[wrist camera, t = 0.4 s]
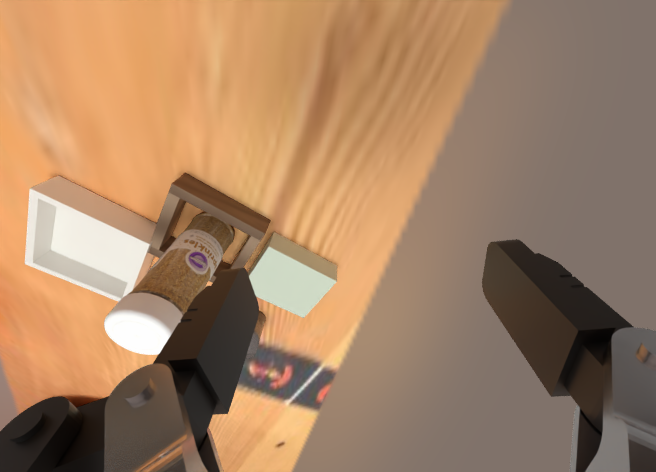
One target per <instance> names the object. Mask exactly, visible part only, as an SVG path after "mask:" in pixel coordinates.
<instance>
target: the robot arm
mask: <svg viewBox="0 0 656 472" xmlns="http://www.w3.org/2000/svg"><path fill="white" fill-rule="evenodd" d="M482 287H483V292H484V295H485V297H486V299H487V300H488V302H489V304H490V305H491V307H492V308H493V310H494V312H495V313H496V315H497V316H498V317H499V319H500V320H501V322H502V323H503V325H504V327H505V328H506V329H507V331H508V333H509V334H510V336H511V337H512V339H513V340H514V342H515V343H516V345H517V346H518V348H519V349H520V350H521V352H522V354H523V355H524V357H525V358H526V360H527V361H528V363H529V364H530V366H531V367H532V369H533V370H534V372H535V373H536V375H537V376H538V378H539V379H540V381H541V382H542V384H543V385H544V387H545V388H546V390H547V391H548V393H549V394H550V395H551V396H572V398H573V399H574V400H575V402H576V403H577V404H578V405H577V407H576V409H575V413H574V424H573V437H572V451H571V462H570V472H656V331H653V330H650V329H644V328H634V327H633V326H632V325H631V324H629V323H628V322H627V321H626V320H625V319H624V318H622V317H621V316H620V315H619V314H618V313H617V312H615V311H614V310H613V309H612V308H610V306H608V305H607V304H606V303H605V302H604V301H603V300H601V299H600V298H599V297H598V296H597V295H596V294H594V293H593V292H592V291H591V290H590V289H588V288H587V287H584V285H583V283H581V282H580V281H579V280H578V279H577V278H576V277H572V274H571V273H570V272H568V271H567V270H566V269H565V268H563V266H562V265H560V264H559V263H558V262H556V261H554V260H552V259H550V258H548V257H546V256H544V255H541V254H539V253H538V254H534V252H532V251H531V250H530V249H529V248H528V247H527V246H526V245H525V244H524V243H523V242H521V241H520V240H517V239H516V240H506V241H497V242H491V243H490V244H489V245H488V248H487V254H486V260H485V267H484V273H483V279H482ZM258 315H259V306H258V301H257V298H256V295H255V293H254V290H253V287H252V284H251V281H250V278H249V276H248V273H247V271H246V269H245V268H236V269H227V270H221V271H220V272H219V274H218V275H217V277H216V279H215V280H214V282H213V284H212V286H207V287H206V288H205V289H203V290H202V291H201V292H200V293H199V294H198V295H197V296H196V297H195V298H194V299H193V301H192V302H191V304H190V306H189V307H188V309H187V312H185V314H184V315H183V317H182V318H181V322H180V323H178V325H177V326H176V328H175V329H174V331H173V333H172V334H171V336H170V337H169V339H168V341H167V342H166V344H165V345H164V347H163V348H162V350H161V352H160V353H159V355H158V356H157V358H156V360H155V361H154V363H153V364H151V365H147V366H144V367H142V368H140V369H138V370H136V371H134V372H133V373H131V374H130V375H128V376H127V377H126V378H125V379H123V380H122V381H121V382H120V383H119V384H118V385H117V386H116V388H115V389H114V390H113V391H112V393H111V394H110V396H108V397H105V398H103V399H100V400H97V401H94V402H91V403H89V404H86V405H83V406H80V407H77V408H76V407H75V406H74V405H73V404H72V403H71V402H70V401H69V400H68V399H66V398H65V397H52V398H49V399H46V400H43V401H41V402H39V403H37V404H35V405H33V406H31V407H30V408H28V409H26V410H25V411H23V412H22V413H21V414H19V415H18V416H17V417H15V418H14V419H13V420H12V421H11V422H10V423H8V424H7V425H6V426H5V427H4V428H3V429H2V430H1V431H0V472H224V471H223V468H222V465H221V462H220V459H219V456H218V453H217V450H216V446H215V443H214V440H213V437H212V434H211V431H210V429H209V428H208V426H209V424H210V421H211V418H212V415H213V414H228V412H229V409H230V405H231V402H232V399H233V396H234V393H235V390H236V387H237V383H238V380H239V377H240V374H241V371H242V368H243V364H244V361H245V358H246V355H247V352H248V349H249V346H250V342H251V339H252V336H253V333H254V330H255V327H256V323H257V320H258Z"/></svg>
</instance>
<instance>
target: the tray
mask: <svg viewBox="0 0 656 472" xmlns="http://www.w3.org/2000/svg"><path fill="white" fill-rule="evenodd" d="M156 225H157V224H156V223H154V222H152V221H150V220H148V219H146V218H144V217H142V216H140V215H138V214H136V213H134V212H132V211H130V210H128V209H126V208H124V207H122V206H120V205H118V204H115V203H113V202H111V201H109V200H107V199H105V198H103V197H101V196H99V195H97V194H95V193H93V192H91V191H89V190H87V189H85V188H83V187H81V186H79V185H77V184H75V183H73V182H71V181H69V180H67V179H65V178H63V177H61V176H59V175H58V176H56V177H54V178H52V179H49V180H47V181H45V182H43V183H40V184H38V185H36V186H34V187H32V188H30V194H29V209H28V224H27V238H26V253H25V264H26V265H29V266H31V267H34V268H36V269H39V270H41V271H44V272H46V273H49V274H51V275H54V276H56V277H59V278H61V279H64V280H66V281H69V282H71V283H74V284H76V285H79V286H81V287H83V288H86V289H88V290H91V291H93V292H96V293H98V294H101V295H103V296H106V297H108V298H111V299H113V300H116V301H118V302H119V301H120V300H121V299H122V298H123V297H124V296H126V295H127V294H128V293H130V292H132V291H133V289H134V288H135V287H136V286H137V285H138V284H139V282H140V281H141V280H142V279H143V278H144V277H145V276H146V274H147V273H148V271H149V268H150V266H151V263H152V261H153V258H154V255H152V254H150V253H148V252H149V249H150V247H151V244H152V242H153V241H151V238H152V235H153V233H154V230H155V227H156Z"/></svg>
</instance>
